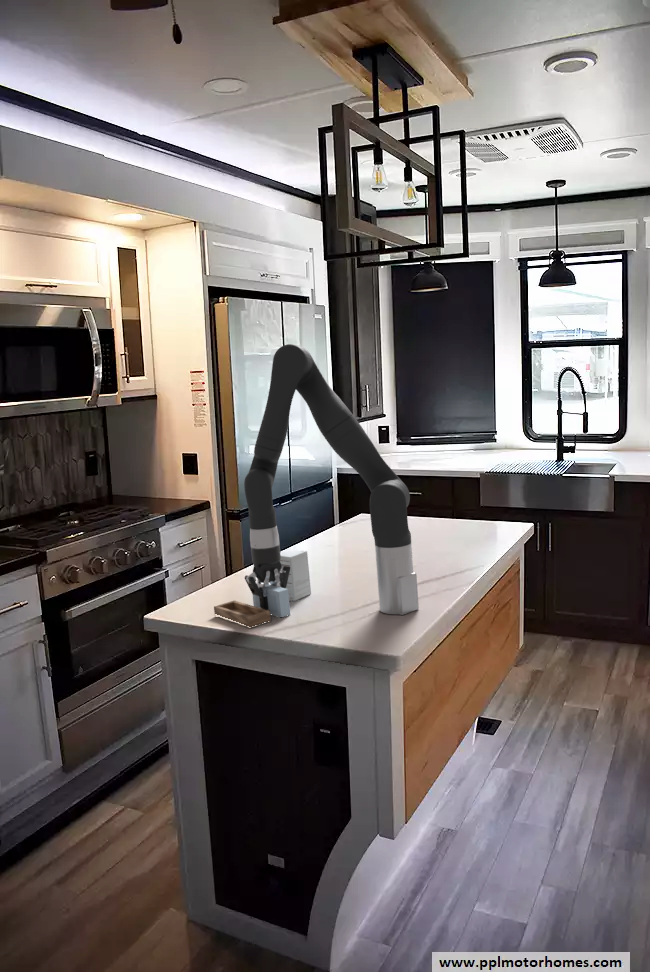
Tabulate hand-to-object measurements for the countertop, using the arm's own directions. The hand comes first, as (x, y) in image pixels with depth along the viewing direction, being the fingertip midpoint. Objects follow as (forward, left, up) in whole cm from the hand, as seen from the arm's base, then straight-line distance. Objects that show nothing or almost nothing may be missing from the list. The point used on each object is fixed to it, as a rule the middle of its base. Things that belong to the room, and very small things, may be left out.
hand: (271, 607), depth 211 cm
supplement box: (+7, -13, -2) cm, 15 cm away
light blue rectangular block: (0, 0, -1) cm, 1 cm away
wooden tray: (+2, +8, -1) cm, 8 cm away
